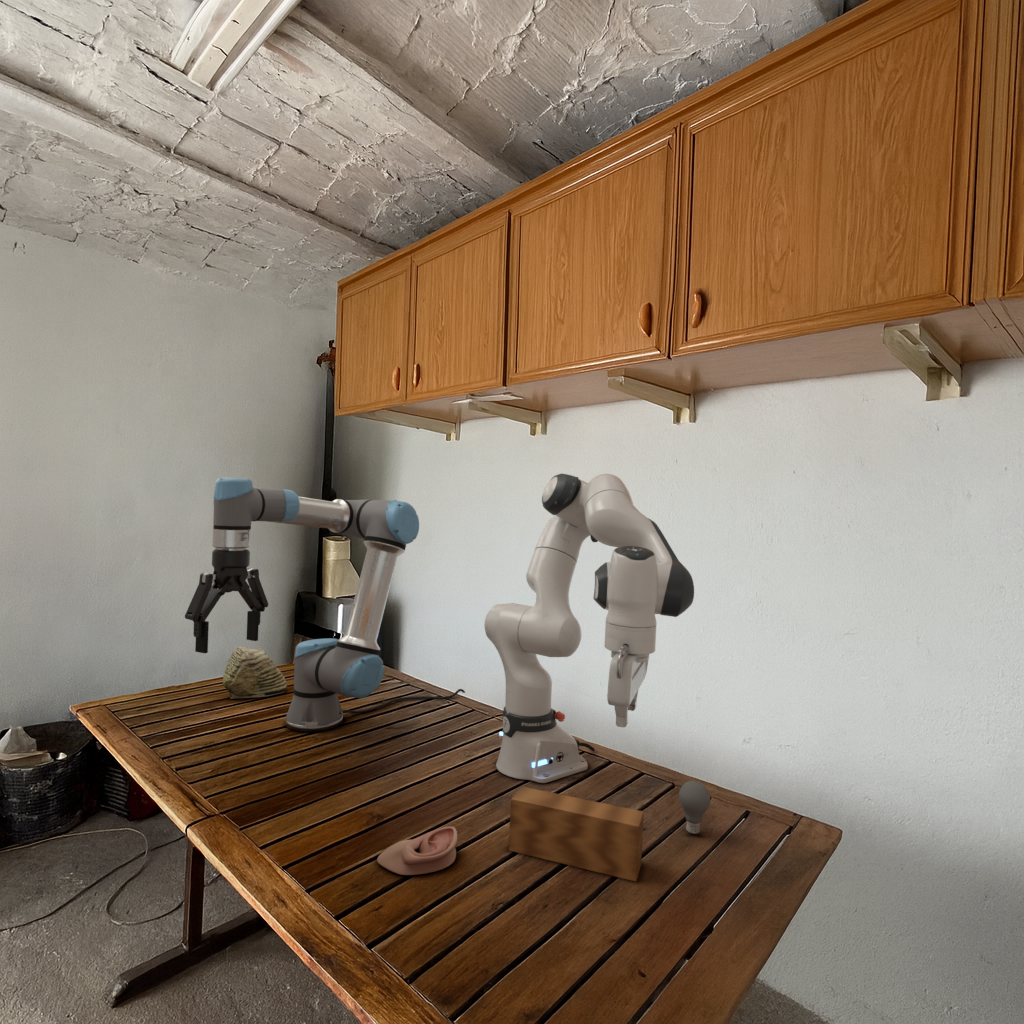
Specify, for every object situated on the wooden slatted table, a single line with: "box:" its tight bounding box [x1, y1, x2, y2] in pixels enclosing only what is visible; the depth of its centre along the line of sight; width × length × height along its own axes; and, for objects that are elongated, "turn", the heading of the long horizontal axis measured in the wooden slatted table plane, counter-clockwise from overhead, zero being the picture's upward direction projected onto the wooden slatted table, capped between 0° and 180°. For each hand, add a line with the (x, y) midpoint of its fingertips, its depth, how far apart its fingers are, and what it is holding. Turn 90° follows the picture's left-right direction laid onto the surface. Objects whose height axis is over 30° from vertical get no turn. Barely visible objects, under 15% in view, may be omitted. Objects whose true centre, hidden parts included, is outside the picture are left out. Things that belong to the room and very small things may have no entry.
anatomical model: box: [376, 826, 459, 876], centre depth 112 cm, size 13×4×12 cm
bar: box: [508, 785, 645, 882], centre depth 115 cm, size 23×6×10 cm, turn 70°
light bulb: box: [678, 780, 711, 835], centre depth 125 cm, size 6×6×10 cm
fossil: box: [222, 646, 288, 699], centre depth 198 cm, size 9×18×15 cm, turn 132°
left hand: (227, 646), depth 138 cm, fingers open, 13 cm apart
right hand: (626, 717), depth 112 cm, fingers open, 8 cm apart
